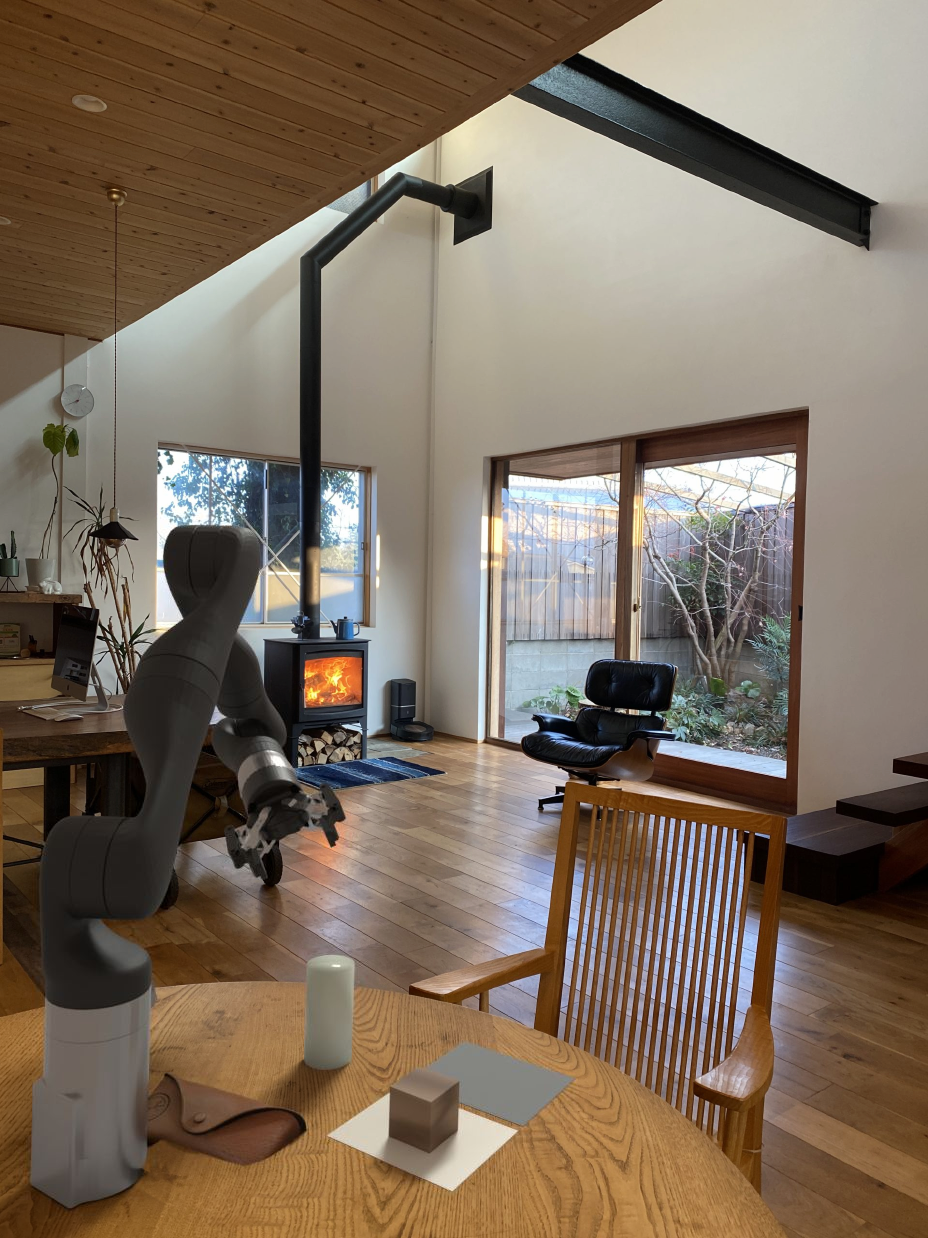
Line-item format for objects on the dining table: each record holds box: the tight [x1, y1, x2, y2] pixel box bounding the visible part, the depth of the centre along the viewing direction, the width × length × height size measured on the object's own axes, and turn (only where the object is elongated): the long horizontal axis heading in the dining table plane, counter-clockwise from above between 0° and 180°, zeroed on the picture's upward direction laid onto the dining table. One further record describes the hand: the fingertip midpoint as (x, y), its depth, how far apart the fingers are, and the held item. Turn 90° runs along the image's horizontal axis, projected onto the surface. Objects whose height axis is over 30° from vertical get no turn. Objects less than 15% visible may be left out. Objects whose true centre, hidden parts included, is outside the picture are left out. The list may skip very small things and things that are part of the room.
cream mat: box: [326, 1092, 519, 1192], centre depth 93 cm, size 12×15×1 cm
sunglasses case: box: [147, 1072, 308, 1167], centre depth 93 cm, size 18×7×7 cm
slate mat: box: [424, 1041, 576, 1128], centre depth 104 cm, size 12×15×1 cm
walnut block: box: [388, 1065, 460, 1154], centre depth 93 cm, size 5×5×5 cm
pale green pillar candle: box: [303, 954, 356, 1071], centre depth 108 cm, size 6×6×12 cm
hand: (297, 857), depth 107 cm, fingers open, 8 cm apart
